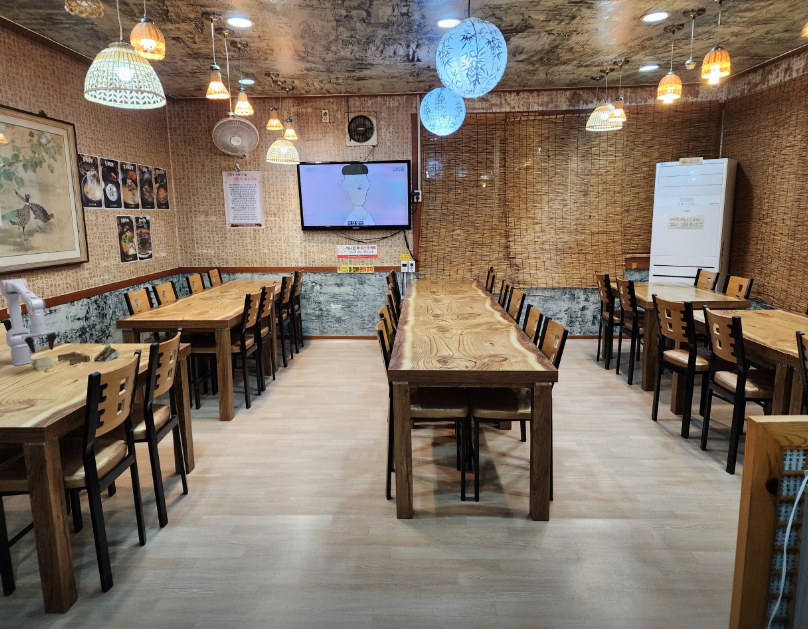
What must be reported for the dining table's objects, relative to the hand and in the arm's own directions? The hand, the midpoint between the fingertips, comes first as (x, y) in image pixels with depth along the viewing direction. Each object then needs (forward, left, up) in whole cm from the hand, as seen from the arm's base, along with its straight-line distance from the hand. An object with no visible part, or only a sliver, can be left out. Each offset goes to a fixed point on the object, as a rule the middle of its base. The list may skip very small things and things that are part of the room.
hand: (42, 351), depth 250 cm
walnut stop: (-9, +16, -10) cm, 21 cm away
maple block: (-9, +2, -10) cm, 14 cm away
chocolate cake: (+4, +28, -11) cm, 30 cm away
